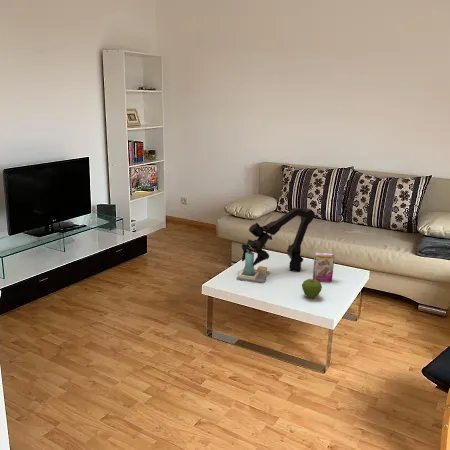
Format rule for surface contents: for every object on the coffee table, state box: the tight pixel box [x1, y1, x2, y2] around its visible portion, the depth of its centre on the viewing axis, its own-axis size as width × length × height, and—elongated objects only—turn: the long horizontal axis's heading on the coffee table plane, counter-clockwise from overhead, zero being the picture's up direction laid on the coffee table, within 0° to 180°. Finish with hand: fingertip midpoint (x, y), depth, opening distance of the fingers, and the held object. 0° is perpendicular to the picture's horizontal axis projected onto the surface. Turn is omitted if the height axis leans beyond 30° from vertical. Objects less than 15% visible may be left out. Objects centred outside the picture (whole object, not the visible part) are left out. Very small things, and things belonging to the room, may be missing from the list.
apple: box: [301, 278, 323, 299], centre depth 262 cm, size 11×10×10 cm
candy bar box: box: [312, 252, 335, 283], centre depth 284 cm, size 11×5×16 cm, turn 84°
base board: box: [236, 265, 271, 284], centre depth 290 cm, size 16×17×4 cm
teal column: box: [244, 252, 255, 276], centre depth 286 cm, size 5×5×14 cm
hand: (247, 263), depth 285 cm, fingers open, 9 cm apart
